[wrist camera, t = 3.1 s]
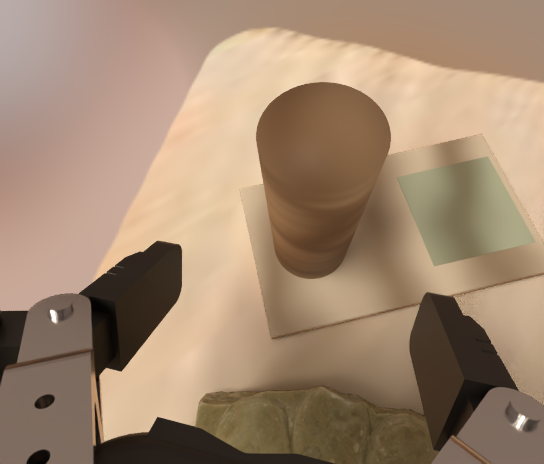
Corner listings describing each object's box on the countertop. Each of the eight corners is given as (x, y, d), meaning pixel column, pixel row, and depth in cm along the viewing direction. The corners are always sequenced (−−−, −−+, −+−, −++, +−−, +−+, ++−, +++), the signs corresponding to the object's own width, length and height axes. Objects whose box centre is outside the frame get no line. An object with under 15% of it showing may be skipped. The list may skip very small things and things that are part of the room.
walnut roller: (334, 204, 25) (365, 71, 14) (356, 269, 23) (411, 173, 12) (267, 220, 25) (244, 97, 14) (283, 286, 23) (272, 206, 12)
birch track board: (475, 141, 28) (482, 133, 27) (548, 273, 23) (558, 268, 22) (241, 195, 27) (239, 188, 26) (272, 339, 23) (271, 337, 22)
